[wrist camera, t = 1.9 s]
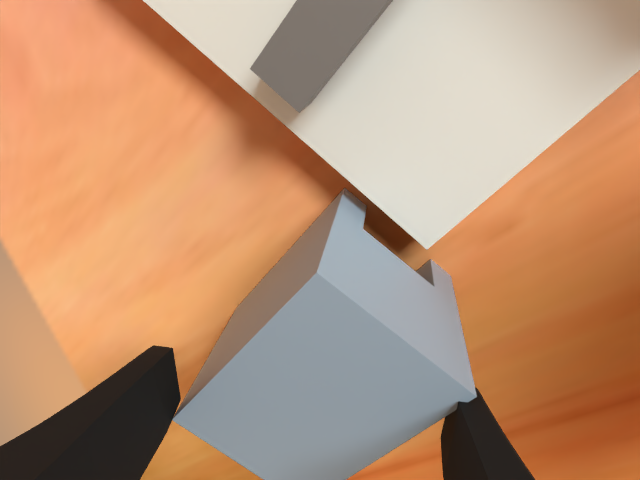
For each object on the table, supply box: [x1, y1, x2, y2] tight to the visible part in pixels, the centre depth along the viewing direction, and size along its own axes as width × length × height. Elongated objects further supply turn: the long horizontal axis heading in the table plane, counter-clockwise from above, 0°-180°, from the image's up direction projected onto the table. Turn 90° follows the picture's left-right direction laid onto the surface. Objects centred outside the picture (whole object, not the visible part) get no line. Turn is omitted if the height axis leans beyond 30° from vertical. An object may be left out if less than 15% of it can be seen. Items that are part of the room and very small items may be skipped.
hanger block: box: [172, 188, 477, 480], centre depth 14 cm, size 5×7×6 cm
